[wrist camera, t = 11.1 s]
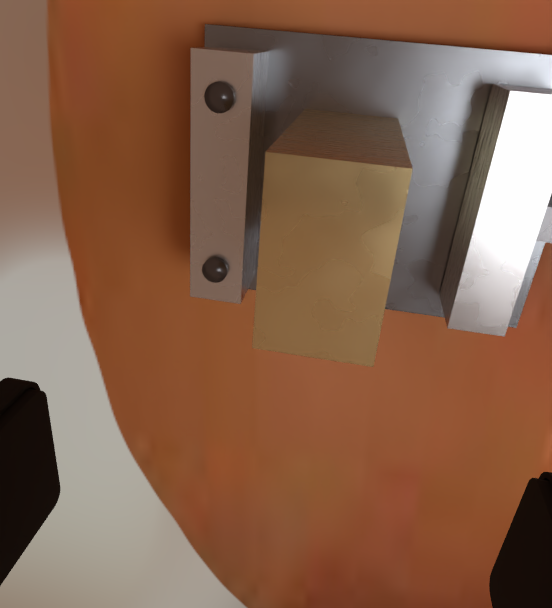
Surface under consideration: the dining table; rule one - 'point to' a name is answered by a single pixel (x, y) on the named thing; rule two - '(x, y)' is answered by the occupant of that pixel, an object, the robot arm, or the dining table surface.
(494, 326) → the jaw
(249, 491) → the dining table surface
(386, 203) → the block
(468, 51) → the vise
